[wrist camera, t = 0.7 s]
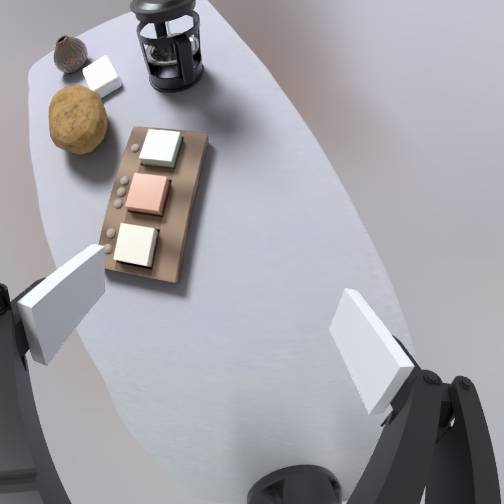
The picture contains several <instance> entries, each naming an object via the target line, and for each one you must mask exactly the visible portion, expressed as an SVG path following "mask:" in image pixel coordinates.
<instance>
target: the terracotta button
mask: <svg viewBox="0 0 504 504" xmlns="http://www.w3.org/2000/svg"><path fill="white" fill-rule="evenodd" d="M170 186H171V184H170V182H169V180H168V178H167V177H166V176H158V175H149V174H140V173H134V176H133V179H132V183H131V186H130V190H129V193H128V197H127V201H126V205H125V207H127V208H128V209H129V210H130V211H131V212H132V213H139V214H145V215H152V216H158V217H163V215H164V211H165V207H166V203H167V198H168V194H169V190H170Z"/></svg>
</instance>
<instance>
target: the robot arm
mask: <svg viewBox="0 0 504 504" xmlns="http://www.w3.org/2000/svg"><path fill="white" fill-rule="evenodd" d="M104 292H105V246H102V245H97V244H92V245H90V246H89V247H88V248H86V249H85V250H83V251H82V252H80V253H79V254H78V255H76V256H75V257H74V258H72V259H71V260H69V261H68V262H67V263H65V264H64V265H63V266H61V267H60V268H59V269H58V270H56V271H55V272H54V273H52V274H51V275H50V276H48V277H47V278H42V279H40V280H37V281H36V282H34V283H33V284H32V285H31V286H30V287H28V288H27V289H26V290H25V291H23V292H22V293H21V294H19V296H17V297H16V298H15V299H13V300H12V301H11V302H10V298H9V293H8V289H7V286H6V285H4V284H1V283H0V504H71V502H70V500H69V498H68V496H67V494H66V491H65V490H64V487H63V485H62V483H61V481H60V478H59V476H58V474H57V471H56V469H55V466H54V463H53V461H52V458H51V455H50V453H49V450H48V447H47V444H46V441H45V438H44V435H43V431H42V428H41V425H40V421H39V417H38V414H37V410H36V405H35V401H34V397H33V392H32V387H31V383H30V376H29V370H28V364H27V359H26V356H25V354H26V352H27V351H28V350H29V349H30V352H31V355H32V358H33V360H34V361H37V362H39V363H41V364H43V365H46V366H47V365H48V363H49V362H50V361H51V359H52V358H53V356H54V355H55V354H56V353H57V351H58V350H59V348H60V347H61V346H62V344H63V343H64V342H65V341H66V339H67V338H68V337H69V335H70V334H71V333H72V332H73V330H74V329H75V328H76V326H77V325H78V324H79V323H80V321H81V320H82V319H83V318H84V316H85V315H86V314H87V313H88V312H89V310H90V309H91V308H92V307H93V305H94V304H95V303H96V302H97V301H98V300H99V298H100V297H101V296H102V295H103V294H104ZM329 330H330V332H331V335H332V337H333V339H334V341H335V343H336V345H337V347H338V349H339V351H340V353H341V355H342V357H343V360H344V362H345V364H346V366H347V368H348V370H349V372H350V374H351V377H352V379H353V381H354V383H355V385H356V387H357V389H358V392H359V394H360V396H361V398H362V400H363V403H364V405H365V407H366V409H367V412H368V414H369V415H370V414H379V413H383V412H384V411H385V410H386V408H387V407H388V406H389V404H391V406H392V408H393V410H392V412H391V413H390V414H389V416H388V417H387V418H386V419H385V421H384V422H383V423H382V424H381V426H382V427H383V426H384V424H385V426H384V429H383V431H382V434H381V436H380V439H379V441H378V443H377V445H376V448H375V450H374V452H373V454H372V456H371V459H370V461H369V463H368V465H367V467H366V469H365V471H364V473H363V475H362V477H361V478H360V480H359V482H358V484H357V486H356V488H355V490H354V491H353V493H352V495H351V497H350V498H349V500H348V502H347V504H420V501H421V498H422V495H423V492H424V488H425V485H426V493H425V504H501V498H500V489H499V480H498V473H497V468H496V462H495V457H494V452H493V447H492V443H491V439H490V435H489V431H488V427H487V423H486V420H485V416H484V413H483V409H482V406H481V403H480V400H479V397H478V394H477V391H476V389H475V386H474V384H473V383H472V382H471V381H470V379H468V378H467V377H463V376H456V377H455V379H454V380H453V382H452V383H451V384H447V383H442V380H441V379H440V377H439V376H438V375H437V374H435V373H434V372H432V371H429V370H421V368H420V367H419V365H418V364H417V363H416V361H415V360H414V359H413V357H412V356H411V355H410V354H409V352H408V351H407V349H405V347H404V345H403V344H402V343H401V341H399V340H398V339H397V338H396V337H394V336H393V335H391V334H390V332H389V331H388V330H387V328H386V327H385V326H384V324H383V323H382V322H381V321H380V319H379V318H378V317H377V315H376V314H375V313H374V312H373V310H372V309H371V308H370V306H369V305H368V304H367V303H366V301H365V300H364V299H363V298H362V296H361V295H360V294H359V293H358V292H357V290H353V289H346V288H344V291H343V294H342V297H341V299H340V302H339V305H338V307H337V310H336V313H335V315H334V318H333V320H332V323H331V326H330V328H329ZM454 418H455V420H454V424H453V426H452V427H451V423H450V422H451V421H452V420H453V419H454ZM247 504H342V502H341V488H340V484H339V482H338V481H337V479H336V478H335V476H334V475H333V473H332V472H330V471H329V470H327V469H325V468H323V467H320V466H315V465H297V466H291V467H287V468H283V469H280V470H277V471H275V472H272V473H270V474H268V475H267V476H265V477H263V478H262V479H260V480H259V481H258V482H257V483H256V484H255V485H254V486H253V487H252V488H251V489H250V491H249V493H248V496H247Z"/></svg>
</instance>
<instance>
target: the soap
mask: <svg viewBox="0 0 504 504" xmlns="http://www.w3.org/2000/svg"><path fill="white" fill-rule="evenodd" d="M83 74H84V77H85V79H86V82H87V84H88V87H89V89H91V90H93V91H94V92H96V93H98V94H99V95H100V97H101V98H103V97H104V96H106V95H108V94H109V93H111V92H113V91H114V90H116V89H118V88H120V87H121V85H122V83H121V81H120V78H119V76H118V74H117V72H116V70H115V69H114V67H113V65H112V63H111V61H110V60H109V58H108V56H104V57H102V58H100V59H98V60H97V61H95V62H94V63H92V64H90V65H89V66H87V67H85V68H84V69H83Z"/></svg>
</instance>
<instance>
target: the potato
mask: <svg viewBox="0 0 504 504" xmlns="http://www.w3.org/2000/svg"><path fill="white" fill-rule="evenodd" d="M107 124H108V119H107V114H106V111H105V108H104V105H103V103H102V100H101V97H100V95H99V94H98V93H96V92H94V91H93V90H91V89H89V88H86V87H84V86H81V85H73V86H68V87H65V88H64V89H62V90H60V91H58V92H57V93H56V94H55V95H54V96H53V98H52V101H51V103H50V106H49V128H50V136H51V139H52V141H53V142H54V144H55V145H56V146H57V147H59V148H61V149H63V150H66V151H68V152H71V153H75V154H82V155H83V154H86V153H88V152H91V151H93V150H94V149H95V148H96V147H97V146H98V145H99V144H100V143H101V142H102V140H103V138H104V136H105V133H106V131H107Z"/></svg>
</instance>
